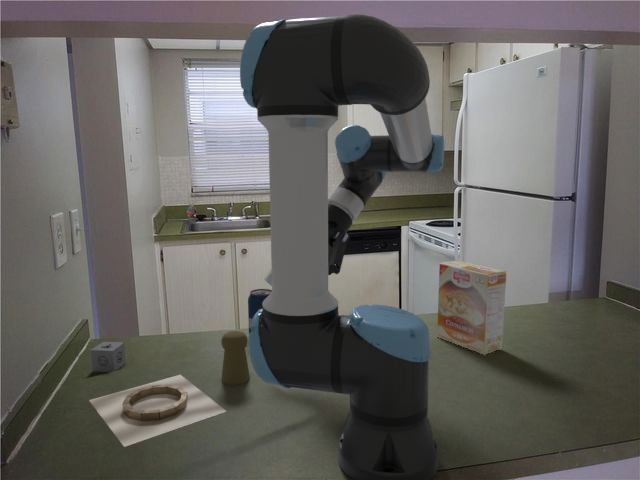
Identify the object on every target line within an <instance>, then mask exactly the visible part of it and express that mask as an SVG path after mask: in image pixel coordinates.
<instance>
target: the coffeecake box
mask: <svg viewBox="0 0 640 480" xmlns="http://www.w3.org/2000/svg"><path fill="white" fill-rule="evenodd" d="M438 277H439V278H438V301H437V303H438V304H437V327H436V328H437V331H436V338H437V337H439V338H438V339H440V338H442V339H444V340H443V341H445V340H447V341H450V342H452V343H451V344H453V343H455V344H457V345H456V346H458V345H460V346H462V347H461V348H463V347H465V348H468V349H470V350H473V351H476V352H479V353H481V354H486V353H489V352H493V351H496V350H499V349H502V350H503V340H504V337H503V336H504V324H505V323H504V320H505V319H504V318H505V306H506V305H505V303H506V301H505V300H506V286H507V270H503V269H497V268H493V267H490V266H485V265H480V264H475V263H471V262H467V261H462V260H459V259H458V260H453V261H443V262H440V263H439V275H438ZM442 339H441V340H442ZM447 341H446V342H447ZM450 342H449V343H450ZM455 344H454V345H455ZM460 346H459V347H460ZM465 348H464V349H465ZM468 349H467V350H468ZM470 350H469V351H470ZM473 351H472V352H473ZM476 352H475V353H476ZM493 353H494V352H493ZM481 354H480V355H481Z"/></svg>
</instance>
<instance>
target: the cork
mask: <svg viewBox="0 0 640 480" xmlns="http://www.w3.org/2000/svg"><path fill="white" fill-rule="evenodd" d="M248 343H249V338H248V336H247V334H246V333H245V332H244V331H239V330H232V331H227V332H225V333H224V334H222V337H221V346H222V349H224V350H223V362H222V372H221V382H222V384H225V385H228V386H237V385H239V386H241V385H243V384H246V383H247V382H248V381H250V379H251V376H250V369H249V364H248V359H247V351H246V347H247V345H248Z"/></svg>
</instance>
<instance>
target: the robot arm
mask: <svg viewBox="0 0 640 480" xmlns="http://www.w3.org/2000/svg"><path fill="white" fill-rule="evenodd" d="M241 52H242V53H241V57H240V64H239V65H240V66H239V80H240V87H241V89H242V90H243V91H242V96H243V98H244V100H245V102H246V104H248V106H250V108H253V109H256V111H257V112H256V113H257V117H256V118H257V122H259V123H260V124H261V125H262V126H263V127H264V129H266V131H267V133H268V135H267V136H268V173H269V178H268V179H269V208H270V209H269V211H270V212H269V213H270V214H269V215H270V218H269V219H270V256H271V257H270V258H271V262H270V263H271V269H270V270H269V271H268V272H267V274H266V275H265V277H264V278H263V280H264V281H265V282H266V283H267V284H268V285H269V286H271V290H272V293H271V294H270V295H269V296H268V297H267V298H266V299H265V300H264V301H263V303H262V306H263V309H260V310H259V311H258V312H257V313H256V314H255V315H254V317H253V319H252V322H251V325H250V328H251V333H249V332H248V353H249V358H250V363H251V366H252V369H253V370H254V372H255V374H256V375H257V377H258V378H260V379H261V380H262V381H263V382H264V383H267V384H270V385H275V386H281V387H283V388H285V389H291V388H292V389H301V390H309V391H310V390H311V391H318V392H326V393H334V394H344V395H348V396H349V411H348V415H347V418H346V420H345V423H344V428H343V431H342V433H341V436H340V438H339V440H338V445H337V446H338V447H337V448H338V449H337V451H338V455H337V456H338V457H337V458H338V459H337V461H338V464H339V466H340V469H341V470H342V471H343V472H344V473H345V475H347V476H348V477H349V478H350V479H352V480H431V479H433V478H434V476H435V475H436V474H437V472H438V467H439V448H438V444H437V442H436V440H435V438H434V436H433V430H432V427H431V422H430V419H429V413H428V412H429V376H430V374H429V369H430V368H429V367H430V359H431V356H432V351H431V348H430V344H431V343H430V342H431V341H430V330H429V327H428V326H427V324H426V322H425V321H424V320H423V319H422V318H421V317H419V316H418V315H416V314H414V313H413V312H410V311H408V310H405V309H403V308H399V307H394V306H389V305H385V304H370V305H369V304H362V305H359V306H356V307H354V308H353V309H352V310H351V312H350V313H349V315H345V314H340V313H339V300H338V299H337V297H335V296H334V295H333V294H332V293H331V292H330V290H329V276H332V274H335V275H339V273H340V271H341V269H342V265H343V261H344V257H345V252H346V248H347V245H348V243H349V242H350V240H351V236H350V235H349V234H348V233H347V232H349V229H350V228H351V227H352V225H353V222H355V221H356V219H357V217H359V215H360V213H361V211H363V209H364V208H365V206H366V205H367V203H368V202H369V200H370V199H371V198H372V196H373V195H374V194H375V192H376V191H377V189H378V188H379V187H380V186H381V184H383V181H384V179H385V177H386V175H387V173H395V172H396V173H397V172H398V173H425V174H426V173H430V172H431V173H435V172H439V171H441V170H442V169H443V168H444V160H445V139H444V136H442V135H439V134H434V133H432V130H431V124H430V123H431V122H430V119H429V111H428V106H427V99H426V97H427V96H428V93H429V92H430V91H429V90H430V84H431V83H430V82H431V81H430V73H429V68H428V64H427V62H426V60H425V57H424V55H423V54H422V52H421V51H420V49H419V48H418V46H417V45H416V44H415V43H414V42H413V40H411V39H410V38H409V37H408V35H407V34H405V33H403V32H402V31H401V30H400V29H399V28H398V27H396V26H394V25H392V24H391V23H388V22H387V21H385V20H384V19H380V18H378V17H375V16H373V15H367V14H347V15H341V16H338V15H337V16H323V17H303V18H283V19H280V20H277V21H271V22H263V23H260V24H258V25H256V26H255V27H254V28H253V29H252V30H251V31H250V33H249V35H248V36H247V38H246V40H245V42H244V44H243V48H242V51H241ZM351 105H369V106H371V107H372V108H373V109H374V110H375V111H377V112H378V113H379V114H380V116H381V119H382V122H383V124H384V126H385V129H386V131H387V134H388V135H371V134H370V132H369V130H368V129H367V128H366V127H363V126H361V125H359V124H357V125H356V124H352V125H348V126H346V127H344V128H342V129H341V130H340V131H339V132H338V133H337V135H336V137H335V140H334V144H335V150H336V156H337V159H338V162H339V164H340V168H341V171H342V173H343V176H344V178H343V179H342V180H341V182H340V184H339V185H338V187H337V188H336V189H335V190H334V191H333V193H332V194H331V195H330V197H329V187H328V186H329V185H328V184H329V174H328V173H329V163H328V162H329V161H328V160H329V157H328V155H329V143H328V140H329V136H328V135H329V130H330V129H331V128H332V127H333V126H334V124H335V123H336V122H337V121H338V120H339V106H351Z"/></svg>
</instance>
